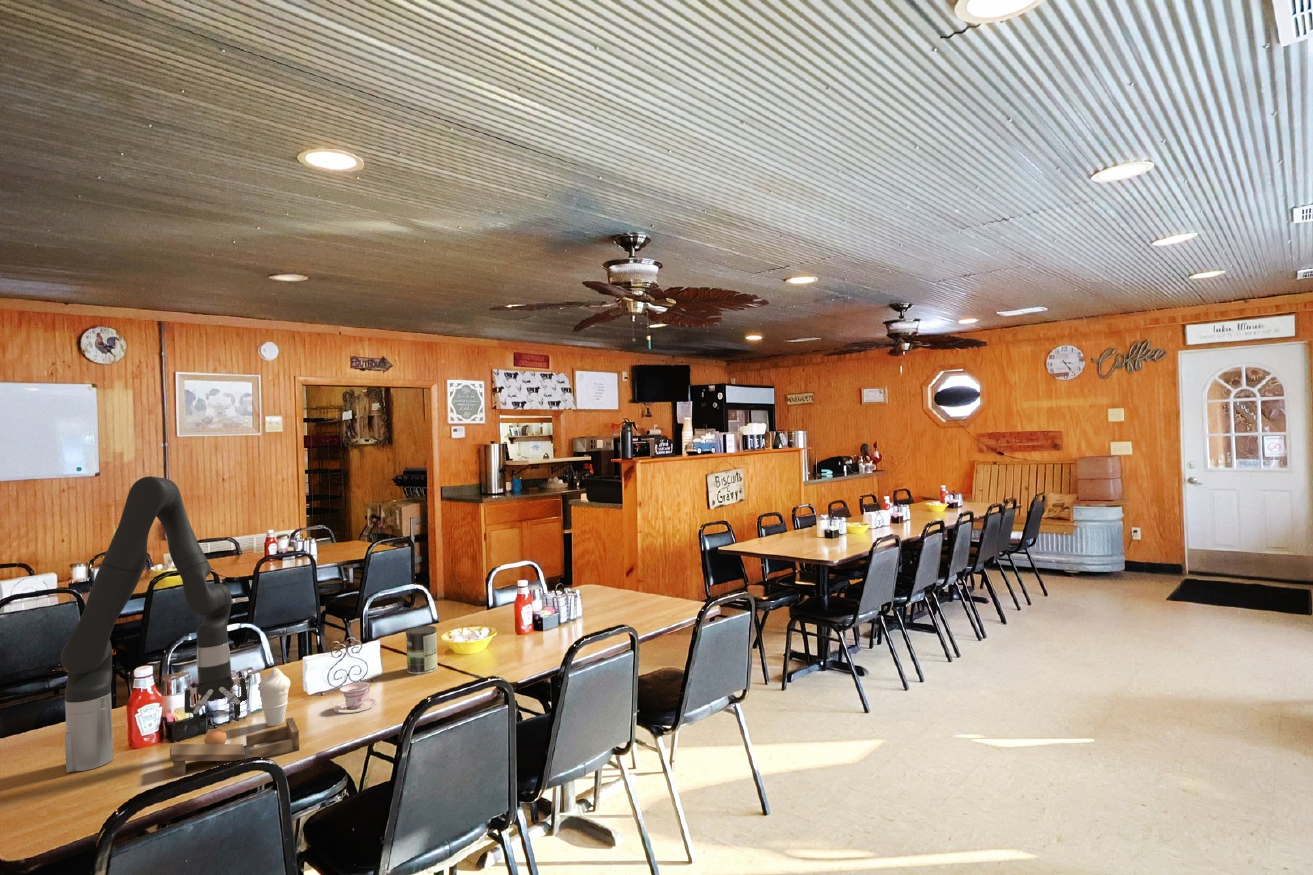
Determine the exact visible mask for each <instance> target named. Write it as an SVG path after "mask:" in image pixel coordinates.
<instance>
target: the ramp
mask: <svg viewBox="0 0 1313 875" xmlns="http://www.w3.org/2000/svg"><path fill="white" fill-rule="evenodd" d="M244 746H245V745H244V744H243V743H242V744H241V743H238V744H237V743H225V744H205V743H171V745H170V748H169V762H172V765H173V778H176V777H180V776H181V777H182V776H186V773H187V772H186V762H200V761H201V762H204V761H205V762H213V761H214V762H215V761H217V762H218V761H219V762H222V761H223V762H225V761H226V762H229V761H232V762H233V761H234V762H235V761H236V762H238V761H237V760H240V759H243V758H244V759H246V758H245V751H244Z"/></svg>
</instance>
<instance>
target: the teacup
mask: <svg viewBox="0 0 1313 875" xmlns="http://www.w3.org/2000/svg"><path fill="white" fill-rule="evenodd" d="M370 689H371V684H370V683H369V682H364V681H363V682H354V683H351V684H350V683H349V684H346V685H344V686H341V687H340V688H339V691H340V692H341V694H343V697H344V698H345V701H342V702H340V703H338V704H336V705H335V706H333V712H334V713H337V714H343V715H344V714H346V715H347V714H356V713H360V712H364V710H365V711H367V710H370V709H372V708H374V707H375V706H376V705H377V701H376V700H375V699H373V698H368V697H367V696H368V695H369V693H370V691H371V690H370ZM364 702H372V703H370V704H369V705H364V704H363V703H364ZM362 705H363V706H370V707H369V708H367V709H362V710H361V709H360V708H361V707H362ZM340 706H348V707H347V708H345V707H344V708H341V707H340ZM360 706H361V707H360ZM373 706H374V707H373ZM358 707H359V708H358ZM348 708H349V709H348ZM355 708H356V709H355ZM338 710H360V711H354V712H339V711H338Z"/></svg>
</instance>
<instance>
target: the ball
mask: <svg viewBox="0 0 1313 875" xmlns="http://www.w3.org/2000/svg"><path fill="white" fill-rule="evenodd" d="M227 738H228V737H227V733H226V732H225V731H224V730H223V729H220V728H219V729H217V728H216V729H212V730H210V731H209V732H208V733H207V734H206V735H205V737H204V744H226V742H227Z"/></svg>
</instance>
